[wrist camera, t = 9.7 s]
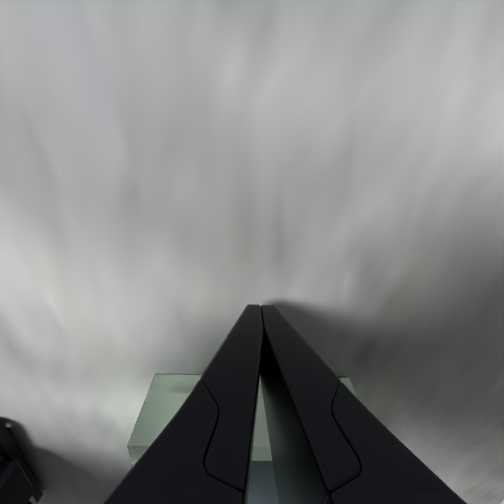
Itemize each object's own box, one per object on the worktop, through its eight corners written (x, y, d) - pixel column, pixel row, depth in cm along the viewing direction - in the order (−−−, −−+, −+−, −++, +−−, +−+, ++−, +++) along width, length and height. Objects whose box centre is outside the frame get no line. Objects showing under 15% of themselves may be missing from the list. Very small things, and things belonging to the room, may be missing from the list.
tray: (176, 516, 15) (163, 586, 13) (154, 374, 10) (127, 445, 8) (308, 516, 15) (319, 584, 13) (349, 377, 10) (379, 447, 8)
